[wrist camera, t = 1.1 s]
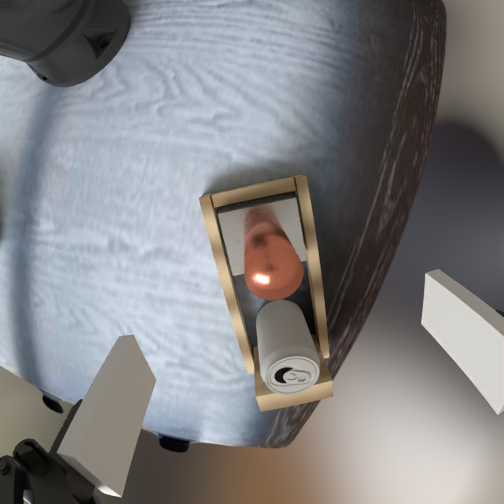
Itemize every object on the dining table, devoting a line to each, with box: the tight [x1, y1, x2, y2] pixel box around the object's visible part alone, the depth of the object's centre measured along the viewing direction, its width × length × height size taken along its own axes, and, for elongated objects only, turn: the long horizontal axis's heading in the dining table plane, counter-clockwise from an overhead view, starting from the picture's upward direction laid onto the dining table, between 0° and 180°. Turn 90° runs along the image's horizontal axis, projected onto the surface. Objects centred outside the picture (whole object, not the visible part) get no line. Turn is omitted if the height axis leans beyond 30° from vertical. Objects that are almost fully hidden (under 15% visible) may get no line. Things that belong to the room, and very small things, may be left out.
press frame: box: [199, 174, 333, 411], centre depth 31 cm, size 25×12×10 cm, turn 12°
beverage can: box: [256, 300, 320, 395], centre depth 32 cm, size 6×6×12 cm
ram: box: [218, 193, 307, 301], centre depth 26 cm, size 7×8×17 cm
